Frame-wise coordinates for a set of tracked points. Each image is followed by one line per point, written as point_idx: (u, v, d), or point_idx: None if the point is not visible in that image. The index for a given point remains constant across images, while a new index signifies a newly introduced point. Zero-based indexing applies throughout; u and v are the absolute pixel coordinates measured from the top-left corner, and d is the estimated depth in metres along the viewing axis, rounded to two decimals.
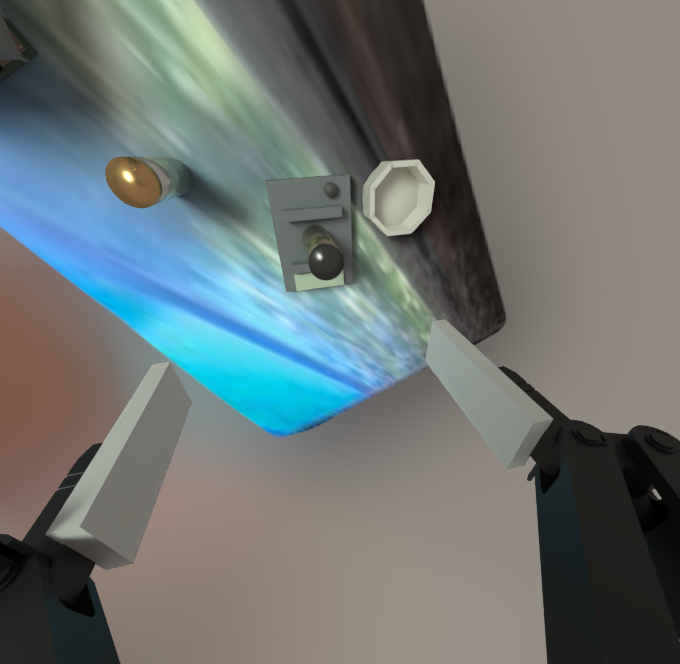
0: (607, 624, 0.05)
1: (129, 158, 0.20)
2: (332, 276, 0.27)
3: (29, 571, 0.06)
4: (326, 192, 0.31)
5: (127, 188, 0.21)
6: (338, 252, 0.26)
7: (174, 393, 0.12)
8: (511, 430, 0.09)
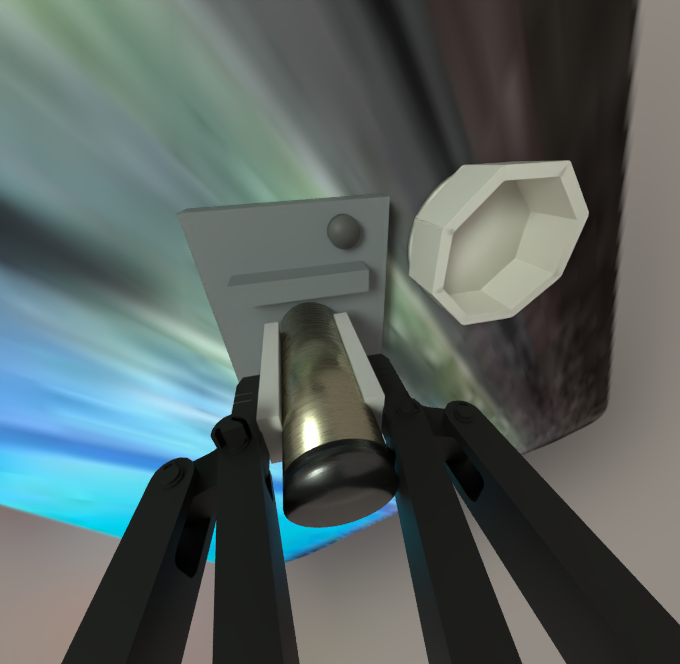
0: (442, 593, 0.05)
1: None
2: (359, 516, 0.09)
3: (253, 448, 0.08)
4: (333, 238, 0.13)
5: None
6: (384, 472, 0.07)
7: None
8: None
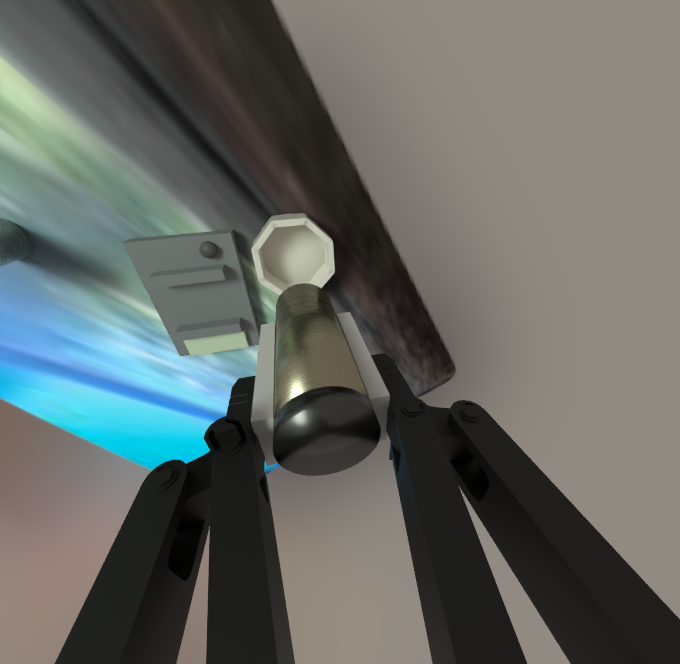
0: (447, 592, 0.05)
1: None
2: (356, 459, 0.09)
3: (247, 450, 0.08)
4: (202, 253, 0.26)
5: None
6: (354, 411, 0.08)
7: None
8: None
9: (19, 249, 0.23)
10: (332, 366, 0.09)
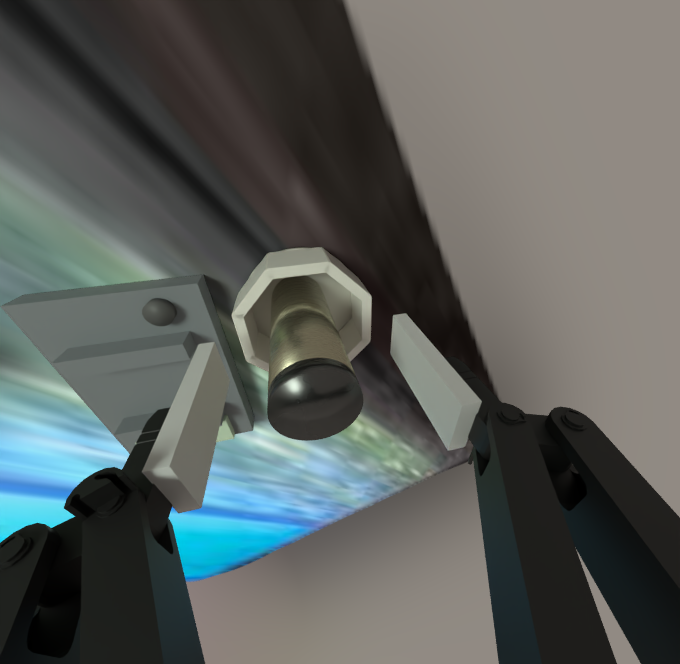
0: (536, 598, 0.05)
1: None
2: (341, 426, 0.10)
3: (132, 503, 0.07)
4: (148, 319, 0.15)
5: None
6: (339, 378, 0.09)
7: (218, 370, 0.13)
8: (449, 413, 0.10)
9: None
10: (321, 342, 0.10)
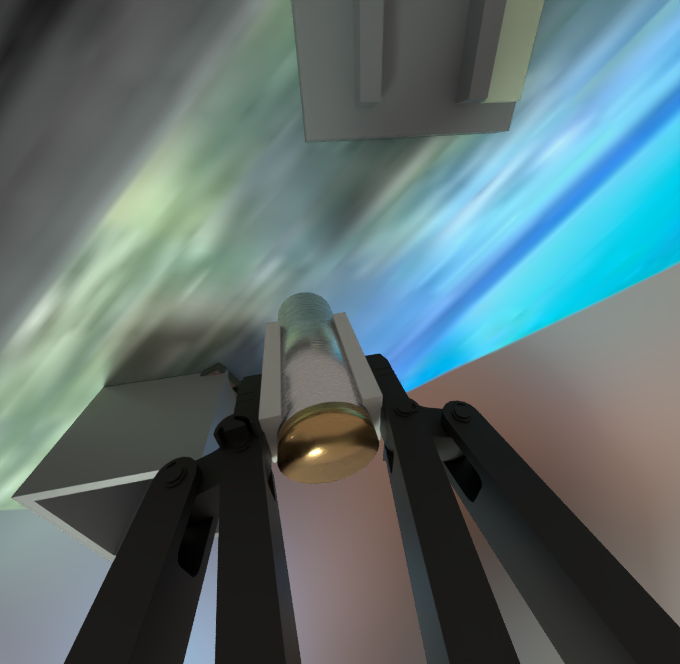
0: (440, 593, 0.05)
1: (279, 455, 0.09)
2: None
3: (256, 448, 0.08)
4: None
5: (339, 461, 0.09)
6: None
7: None
8: None
9: (316, 304, 0.15)
10: None
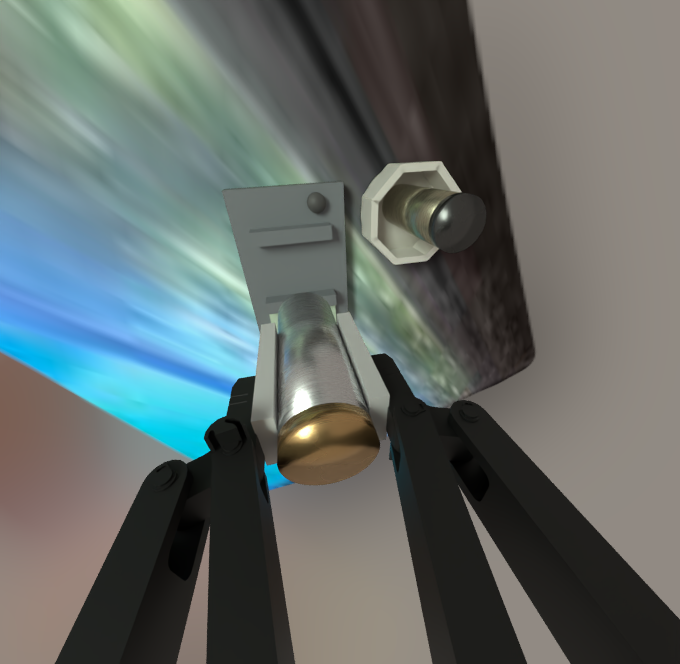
0: (447, 592, 0.05)
1: (279, 458, 0.08)
2: (468, 244, 0.18)
3: (247, 450, 0.08)
4: (310, 206, 0.22)
5: (340, 463, 0.09)
6: (478, 201, 0.16)
7: None
8: None
9: (316, 304, 0.15)
10: None
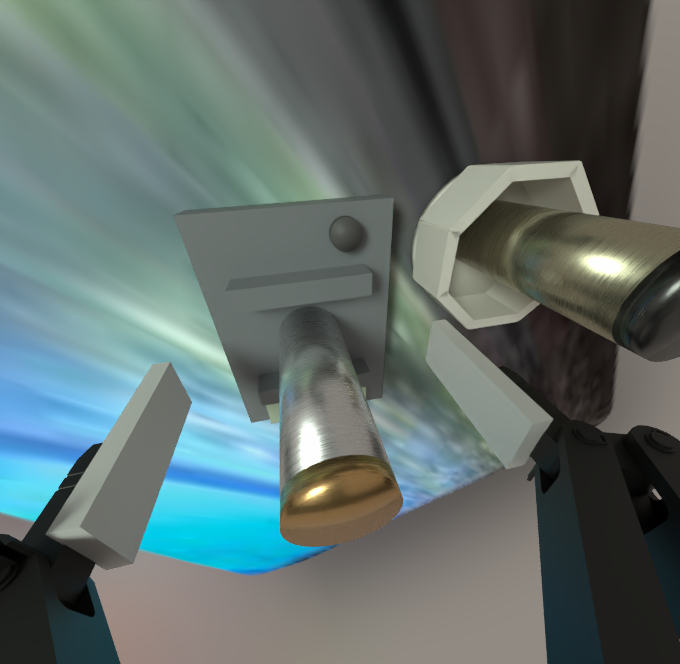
0: (607, 624, 0.05)
1: (282, 524, 0.07)
2: None
3: (29, 571, 0.06)
4: (335, 241, 0.12)
5: (355, 523, 0.08)
6: None
7: (174, 393, 0.12)
8: (511, 430, 0.09)
9: (321, 321, 0.14)
10: None
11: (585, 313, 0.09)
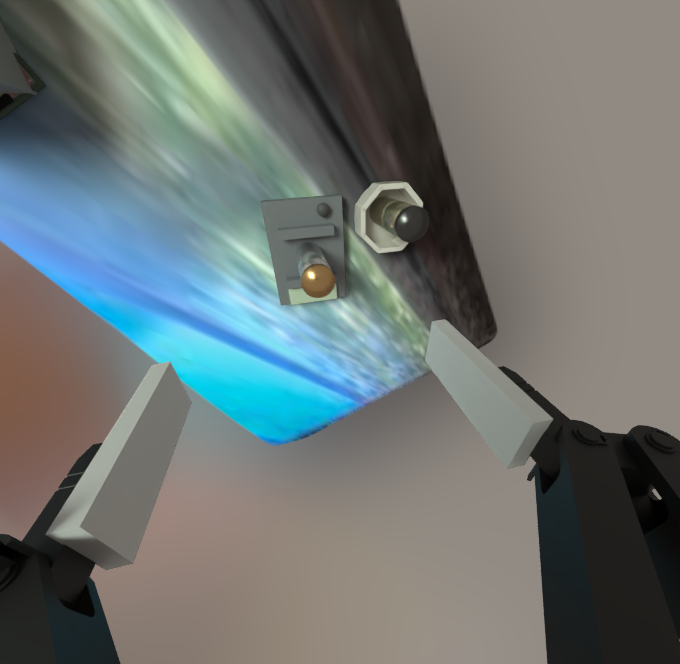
0: (607, 624, 0.05)
1: (302, 280, 0.27)
2: (419, 237, 0.28)
3: (29, 571, 0.06)
4: (319, 212, 0.32)
5: (322, 286, 0.28)
6: (423, 210, 0.26)
7: (174, 393, 0.12)
8: (511, 430, 0.09)
9: (314, 245, 0.33)
10: None
11: (392, 230, 0.28)
